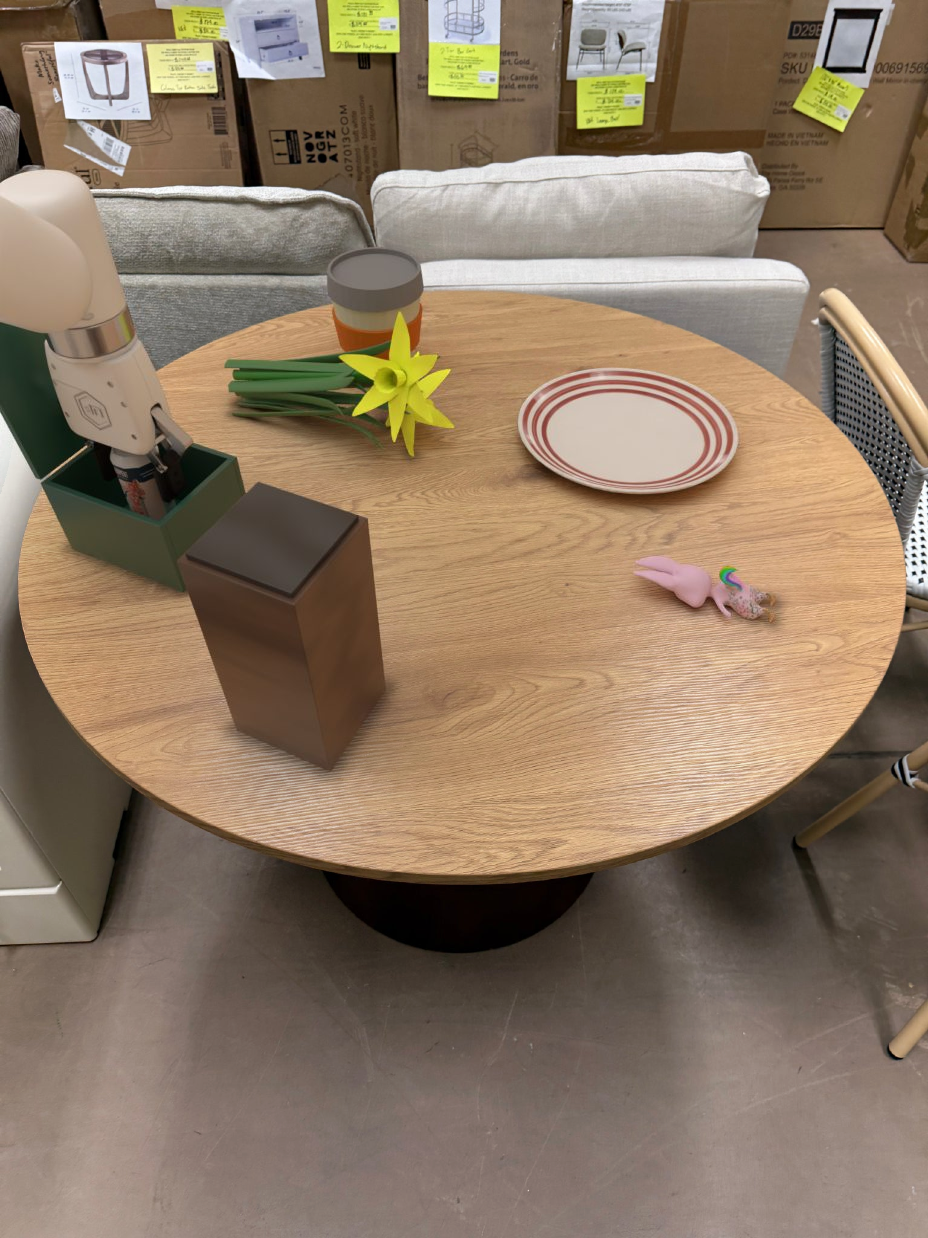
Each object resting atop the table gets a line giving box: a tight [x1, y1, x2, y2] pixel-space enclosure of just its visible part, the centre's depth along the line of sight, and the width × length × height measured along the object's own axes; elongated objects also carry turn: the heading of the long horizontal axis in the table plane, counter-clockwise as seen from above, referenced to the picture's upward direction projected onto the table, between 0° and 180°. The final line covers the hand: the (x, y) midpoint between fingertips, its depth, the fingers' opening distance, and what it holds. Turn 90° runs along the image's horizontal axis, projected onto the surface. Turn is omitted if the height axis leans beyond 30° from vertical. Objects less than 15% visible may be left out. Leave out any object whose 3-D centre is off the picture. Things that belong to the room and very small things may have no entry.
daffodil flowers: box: [223, 311, 455, 458], centre depth 100 cm, size 17×15×35 cm
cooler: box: [40, 433, 247, 593], centre depth 88 cm, size 15×12×10 cm
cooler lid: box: [0, 322, 87, 481], centre depth 81 cm, size 16×12×5 cm
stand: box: [177, 481, 387, 772], centre depth 68 cm, size 10×10×22 cm
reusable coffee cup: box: [326, 246, 425, 361], centre depth 109 cm, size 13×13×15 cm
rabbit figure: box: [632, 555, 779, 624], centre depth 84 cm, size 6×6×15 cm
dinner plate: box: [517, 367, 740, 495], centre depth 103 cm, size 28×27×3 cm
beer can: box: [110, 445, 176, 521], centre depth 87 cm, size 5×5×12 cm
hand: (145, 483), depth 86 cm, fingers open, 7 cm apart
